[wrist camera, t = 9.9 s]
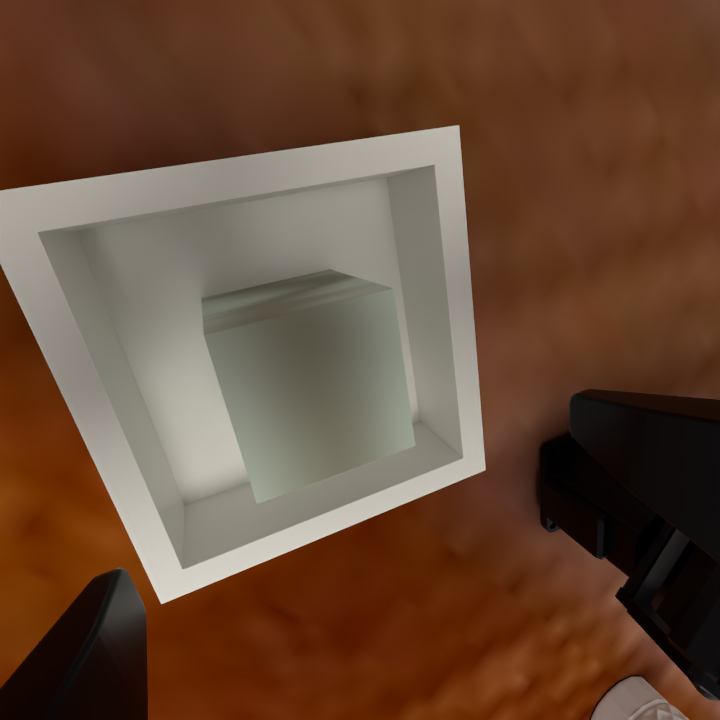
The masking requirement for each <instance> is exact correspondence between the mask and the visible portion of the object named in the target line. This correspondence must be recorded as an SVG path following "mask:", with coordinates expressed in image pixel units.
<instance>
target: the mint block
mask: <svg viewBox="0 0 720 720" xmlns="http://www.w3.org/2000/svg"><path fill="white" fill-rule="evenodd" d="M201 302H202V317H203V331H204V338H205V341H206V344H207V347H208V351H209V354H210V357H211V360H212V363H213V366H214V370H215V373H216V376H217V379H218V382H219V385H220V389H221V392H222V395H223V398H224V401H225V404H226V408H227V411H228V414H229V417H230V420H231V423H232V427H233V430H234V433H235V436H236V439H237V442H238V446H239V449H240V452H241V455H242V458H243V461H244V465H245V468H246V471H247V474H248V477H249V480H250V484H251V487H252V490H253V493H254V496H255V499H256V503H257V504H259V503H262V502H264V501H267V500H270V499H272V498H275V497H278V496H280V495H283V494H286V493H289V492H291V491H294V490H297V489H299V488H302V487H305V486H308V485H310V484H313V483H316V482H318V481H321V480H324V479H326V478H329V477H332V476H335V475H337V474H340V473H343V472H345V471H348V470H351V469H354V468H356V467H359V466H362V465H364V464H367V463H370V462H372V461H375V460H378V459H381V458H383V457H386V456H389V455H391V454H394V453H397V452H399V451H402V450H405V449H408V448H410V447H413V446H416V445H415V438H414V431H413V424H412V417H411V410H410V402H409V395H408V388H407V381H406V374H405V367H404V360H403V352H402V345H401V338H400V331H399V324H398V317H397V310H396V302H395V295H394V288H390V287H387V286H384V285H380V284H377V283H374V282H371V281H367V280H364V279H361V278H357V277H354V276H351V275H347V274H344V273H341V272H338V271H334V270H331V269H329V270H325V271H320V272H316V273H311V274H307V275H302V276H298V277H293V278H289V279H285V280H280V281H276V282H271V283H267V284H262V285H258V286H253V287H249V288H245V289H240V290H236V291H231V292H227V293H222V294H218V295H213V296H209V297H205V298H201Z"/></svg>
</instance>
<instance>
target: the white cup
mask: <svg viewBox="0 0 720 720" xmlns="http://www.w3.org/2000/svg"><path fill="white" fill-rule="evenodd" d="M591 720H689V719H688V718H687V717H686V716H684V715H683V714H682V713H681V712H680V711H679V710H678V709H677V708H676V707H674V706H672V705H671V704H669V703H668V701H667V700H666V699H664V698H663V697H662V696H661V695H660V694H659V693H658V692H657V691H656V690H655V689H654V688H653V687H652V686H651V685H650V684H649V683H648V682H647V681H646V680H644V679H643V678H642V677H629V678H627V679H624V680H623V681H621V682H619V683H618V684H617V685H615V686H614V687H613V688H611V690H610V691H608V692H607V693H606V695H605V696H604V697H603V698H602V699H601V701H600V702H599V704H598V705H597V706H596V708H595V710H594V713H593V715H592V717H591Z"/></svg>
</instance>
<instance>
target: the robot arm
mask: <svg viewBox="0 0 720 720" xmlns="http://www.w3.org/2000/svg"><path fill="white" fill-rule="evenodd" d="M569 430H570V433H569V434H567V435H565V436H562V437H560V438H557V439H555V440H552V441H550V442H548V443H546V444H545V445H544V446H543V447H542V449H541V477H542V525H543V527H544V528H545V529H546V530H547V531H548V532H554V531H556V530H558V529H560V528H561V529H562V530H563V531H564V532H565V533H567V534H568V535H569V536H570V537H571V538H573V539H574V540H575V541H576V542H578V543H579V544H580V545H581V546H582V547H584V548H585V549H586V550H587V551H589V552H590V553H591V554H592V555H593V556H595V557H596V558H598V559H603V558H606V559H607V560H608V561H610V562H611V563H612V564H613V565H615V566H616V567H617V568H618V569H620V570H621V571H622V572H623V573H625V574H626V575H627V576H628V577H629V578H628V580H627V581H626V583H625V585H624V586H623V587H620V589H619V590H618V592H617V594H616V595H615V596H616V598H617V599H618V600H619V601H620V602H621V603H622V604H623V605H624V606H625V607H626V609H627V612H628V613H629V614H630V615H631V617H632V618H633V619H634V620H635V621H636V622H637V623H638V624H639V625H640V626H641V627H642V628H643V630H644V631H645V632H646V633H647V634H648V635H649V636H650V637H651V638H652V639H653V640H654V641H655V642H656V644H657V645H658V646H659V647H660V648H661V649H662V650H663V651H664V652H665V653H666V654H667V655H668V657H669V658H670V659H671V660H672V661H673V662H674V663H675V664H676V665H677V666H678V667H679V668H680V669H681V671H682V672H683V673H684V674H685V675H686V676H687V677H688V679H689V680H690V681H691V683H692V684H693V685H694V687H695V688H696V689H697V690H698V691H699V692H700V693H701V694H702V695H703V696H704V697H706V698H707V699H709V700H713V701H720V400H715V399H703V398H691V397H679V396H667V395H655V394H643V393H631V392H619V391H607V390H595V389H588V390H584V391H581V392H579V393H576V394H574V395H573V396H572V397H571V399H570V402H569ZM0 720H148V688H147V633H146V612H145V608H144V604H143V602H142V600H141V598H140V596H139V594H138V592H137V590H136V588H135V586H134V584H133V582H132V580H131V578H130V576H129V574H128V572H127V571H126V570H125V569H124V568H117V569H114V570H112V571H109V572H106V573H104V574H101V575H99V576H96V577H95V578H93V579H92V580H91V581H90V583H89V584H88V585H87V586H86V587H85V588H84V590H83V591H82V592H81V593H80V594H79V596H78V597H77V598H76V599H75V600H74V602H73V603H72V604H71V605H70V606H69V608H68V609H67V610H66V611H65V612H64V613H63V615H62V616H61V617H60V618H59V619H58V621H57V622H56V623H55V624H54V625H53V627H52V628H51V629H50V630H49V631H48V633H47V634H46V635H45V636H44V637H43V638H42V640H41V641H40V642H39V643H38V644H37V646H36V647H35V648H34V649H33V650H32V652H31V653H30V654H29V655H28V656H27V657H26V659H25V660H24V661H23V662H22V663H21V665H20V666H19V667H18V668H17V669H16V671H15V672H14V673H13V674H12V675H11V677H10V678H9V679H8V680H7V681H6V682H5V684H4V685H3V686H2V687H1V688H0Z"/></svg>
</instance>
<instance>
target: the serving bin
mask: <svg viewBox="0 0 720 720" xmlns="http://www.w3.org/2000/svg"><path fill="white" fill-rule="evenodd" d="M0 264H1V266H2V269H3V271H4V273H5V275H6V277H7V279H8V281H9V283H10V286H11V288H12V290H13V292H14V294H15V296H16V298H17V300H18V302H19V305H20V307H21V309H22V311H23V313H24V315H25V317H26V319H27V321H28V324H29V326H30V328H31V330H32V332H33V334H34V336H35V338H36V340H37V343H38V345H39V347H40V349H41V351H42V353H43V355H44V357H45V359H46V362H47V364H48V366H49V368H50V370H51V372H52V374H53V376H54V378H55V381H56V383H57V385H58V387H59V389H60V391H61V393H62V395H63V397H64V400H65V402H66V404H67V406H68V408H69V410H70V412H71V414H72V416H73V419H74V421H75V423H76V425H77V427H78V429H79V431H80V433H81V435H82V438H83V440H84V442H85V444H86V446H87V448H88V450H89V452H90V454H91V457H92V459H93V461H94V463H95V465H96V467H97V469H98V471H99V473H100V476H101V478H102V480H103V482H104V484H105V486H106V488H107V490H108V492H109V495H110V497H111V499H112V501H113V503H114V505H115V507H116V509H117V511H118V514H119V516H120V518H121V520H122V522H123V524H124V526H125V528H126V531H127V533H128V535H129V537H130V539H131V541H132V543H133V545H134V547H135V550H136V552H137V554H138V556H139V558H140V560H141V562H142V564H143V566H144V569H145V571H146V573H147V575H148V577H149V579H150V581H151V583H152V585H153V588H154V590H155V592H156V594H157V596H158V598H159V600H160V602H161V604H163V603H166V602H168V601H170V600H173V599H175V598H178V597H180V596H182V595H185V594H187V593H190V592H192V591H195V590H197V589H199V588H202V587H204V586H207V585H209V584H211V583H214V582H216V581H219V580H221V579H224V578H226V577H228V576H231V575H233V574H236V573H238V572H240V571H243V570H245V569H248V568H250V567H253V566H255V565H257V564H260V563H262V562H265V561H267V560H269V559H272V558H274V557H277V556H279V555H282V554H284V553H286V552H289V551H291V550H294V549H296V548H298V547H301V546H303V545H306V544H308V543H311V542H313V541H315V540H318V539H320V538H323V537H325V536H327V535H330V534H332V533H335V532H337V531H340V530H342V529H344V528H347V527H349V526H352V525H354V524H356V523H359V522H361V521H364V520H366V519H369V518H371V517H373V516H376V515H378V514H381V513H383V512H385V511H388V510H390V509H393V508H395V507H398V506H400V505H402V504H405V503H407V502H410V501H412V500H414V499H417V498H419V497H422V496H424V495H427V494H429V493H431V492H434V491H436V490H439V489H441V488H443V487H446V486H448V485H451V484H453V483H456V482H458V481H460V480H463V479H465V478H468V477H470V476H472V475H475V474H477V473H480V472H482V471H485V470H486V468H485V455H484V442H483V429H482V416H481V403H480V390H479V377H478V364H477V351H476V338H475V325H474V312H473V299H472V286H471V273H470V260H469V247H468V234H467V221H466V208H465V195H464V183H463V170H462V157H461V144H460V131H459V125H457V126H450V127H443V128H436V129H429V130H422V131H415V132H408V133H401V134H394V135H387V136H380V137H373V138H366V139H359V140H352V141H345V142H338V143H331V144H324V145H317V146H310V147H303V148H296V149H289V150H281V151H274V152H267V153H260V154H253V155H246V156H239V157H232V158H225V159H218V160H211V161H204V162H197V163H190V164H183V165H176V166H169V167H162V168H155V169H148V170H141V171H134V172H127V173H120V174H113V175H106V176H99V177H92V178H85V179H78V180H71V181H64V182H57V183H50V184H43V185H36V186H29V187H22V188H15V189H8V190H1V191H0ZM329 269H331V270H334V271H338V272H341V273H344V274H347V275H351V276H354V277H357V278H361V279H364V280H367V281H371V282H374V283H377V284H380V285H384V286H387V287H390V288H394V295H395V302H396V310H397V317H398V324H399V331H400V338H401V345H402V352H403V360H404V367H405V374H406V381H407V388H408V395H409V402H410V410H411V417H412V424H413V431H414V438H415V445H416V446H413V447H410V448H408V449H405V450H402V451H399V452H397V453H394V454H391V455H389V456H386V457H383V458H381V459H378V460H375V461H372V462H370V463H367V464H364V465H362V466H359V467H356V468H354V469H351V470H348V471H345V472H343V473H340V474H337V475H335V476H332V477H329V478H326V479H324V480H321V481H318V482H316V483H313V484H310V485H308V486H305V487H302V488H299V489H297V490H294V491H291V492H289V493H286V494H283V495H280V496H278V497H275V498H272V499H270V500H267V501H264V502H262V503H259V504H257V503H256V499H255V496H254V493H253V490H252V487H251V484H250V480H249V477H248V474H247V471H246V468H245V465H244V461H243V458H242V455H241V452H240V449H239V446H238V442H237V439H236V436H235V433H234V430H233V427H232V423H231V420H230V417H229V414H228V411H227V408H226V404H225V401H224V398H223V395H222V392H221V389H220V385H219V382H218V379H217V376H216V373H215V370H214V366H213V363H212V360H211V357H210V354H209V351H208V347H207V344H206V341H205V338H204V331H203V317H202V302H201V298H205V297H209V296H213V295H218V294H222V293H227V292H231V291H236V290H240V289H245V288H249V287H253V286H258V285H262V284H267V283H271V282H276V281H280V280H285V279H289V278H293V277H298V276H302V275H307V274H311V273H316V272H320V271H325V270H329Z"/></svg>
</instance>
